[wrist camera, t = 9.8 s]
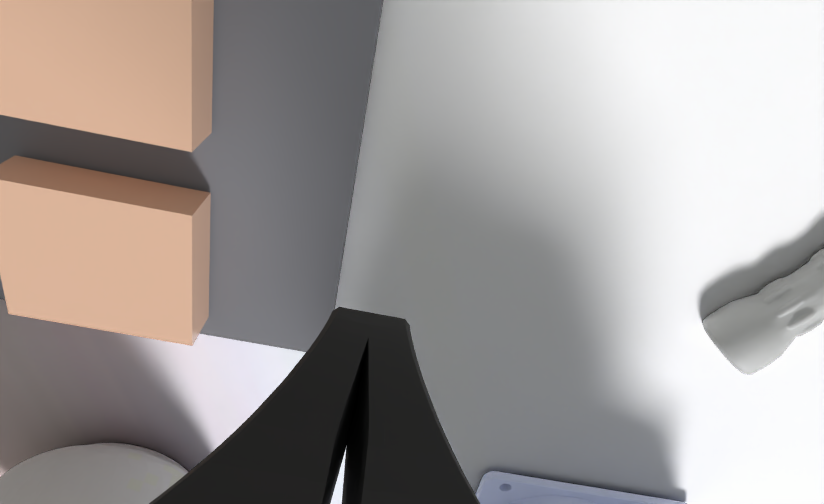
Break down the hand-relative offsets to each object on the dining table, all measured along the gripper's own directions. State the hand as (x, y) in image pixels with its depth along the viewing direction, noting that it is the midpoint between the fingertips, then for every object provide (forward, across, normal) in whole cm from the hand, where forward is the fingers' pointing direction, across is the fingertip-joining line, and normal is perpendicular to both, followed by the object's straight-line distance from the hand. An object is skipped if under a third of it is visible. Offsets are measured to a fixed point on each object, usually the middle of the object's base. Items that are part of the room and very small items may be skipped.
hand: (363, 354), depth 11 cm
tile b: (+7, +6, -3) cm, 10 cm away
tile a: (+7, +6, +4) cm, 10 cm away
